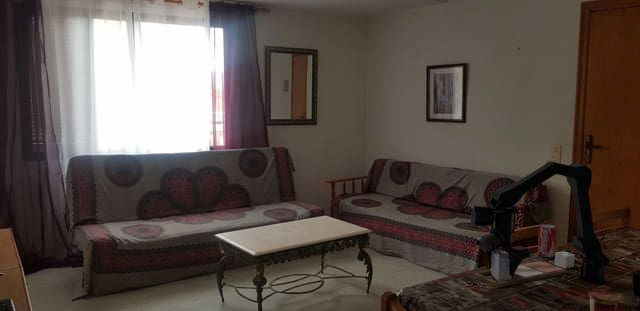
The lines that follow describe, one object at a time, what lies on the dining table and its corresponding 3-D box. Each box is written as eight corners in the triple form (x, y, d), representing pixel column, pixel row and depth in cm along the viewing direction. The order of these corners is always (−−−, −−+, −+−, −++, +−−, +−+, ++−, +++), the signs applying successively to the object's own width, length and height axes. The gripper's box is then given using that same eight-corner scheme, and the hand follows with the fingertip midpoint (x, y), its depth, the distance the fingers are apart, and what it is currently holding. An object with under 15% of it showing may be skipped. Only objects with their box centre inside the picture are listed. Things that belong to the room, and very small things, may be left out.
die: (573, 266, 177) (574, 254, 177) (565, 268, 175) (566, 256, 175) (562, 263, 181) (563, 251, 181) (554, 264, 179) (555, 252, 179)
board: (567, 273, 170) (567, 269, 170) (497, 287, 156) (497, 284, 156) (538, 263, 181) (539, 259, 181) (471, 275, 167) (471, 272, 167)
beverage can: (557, 258, 186) (558, 228, 185) (539, 257, 188) (541, 227, 186) (552, 254, 192) (554, 224, 191) (535, 252, 194) (537, 223, 192)
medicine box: (511, 282, 161) (512, 257, 160) (498, 282, 161) (499, 257, 160) (503, 274, 169) (504, 250, 168) (490, 274, 169) (491, 249, 168)
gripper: (465, 222, 168) (463, 266, 170) (506, 235, 151) (504, 284, 153) (489, 219, 173) (487, 261, 174) (532, 231, 156) (529, 278, 158)
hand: (500, 271), depth 165 cm, fingers closed on medicine box, 9 cm apart
